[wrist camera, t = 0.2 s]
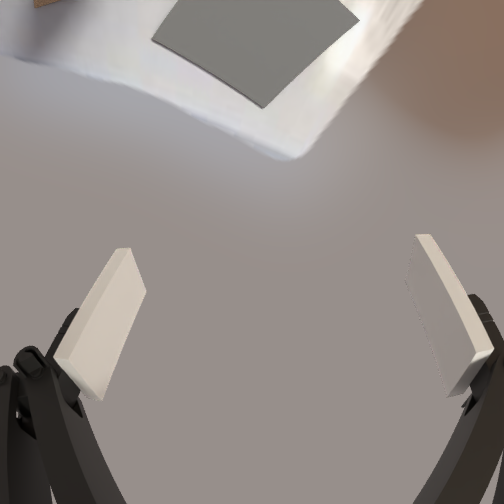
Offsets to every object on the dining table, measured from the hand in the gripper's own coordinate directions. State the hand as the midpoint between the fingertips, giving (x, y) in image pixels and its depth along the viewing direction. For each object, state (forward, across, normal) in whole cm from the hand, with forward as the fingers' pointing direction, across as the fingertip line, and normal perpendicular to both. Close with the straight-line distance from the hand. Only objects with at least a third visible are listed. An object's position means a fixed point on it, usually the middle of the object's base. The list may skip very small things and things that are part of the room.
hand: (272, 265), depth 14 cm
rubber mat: (+25, -1, +13) cm, 28 cm away
